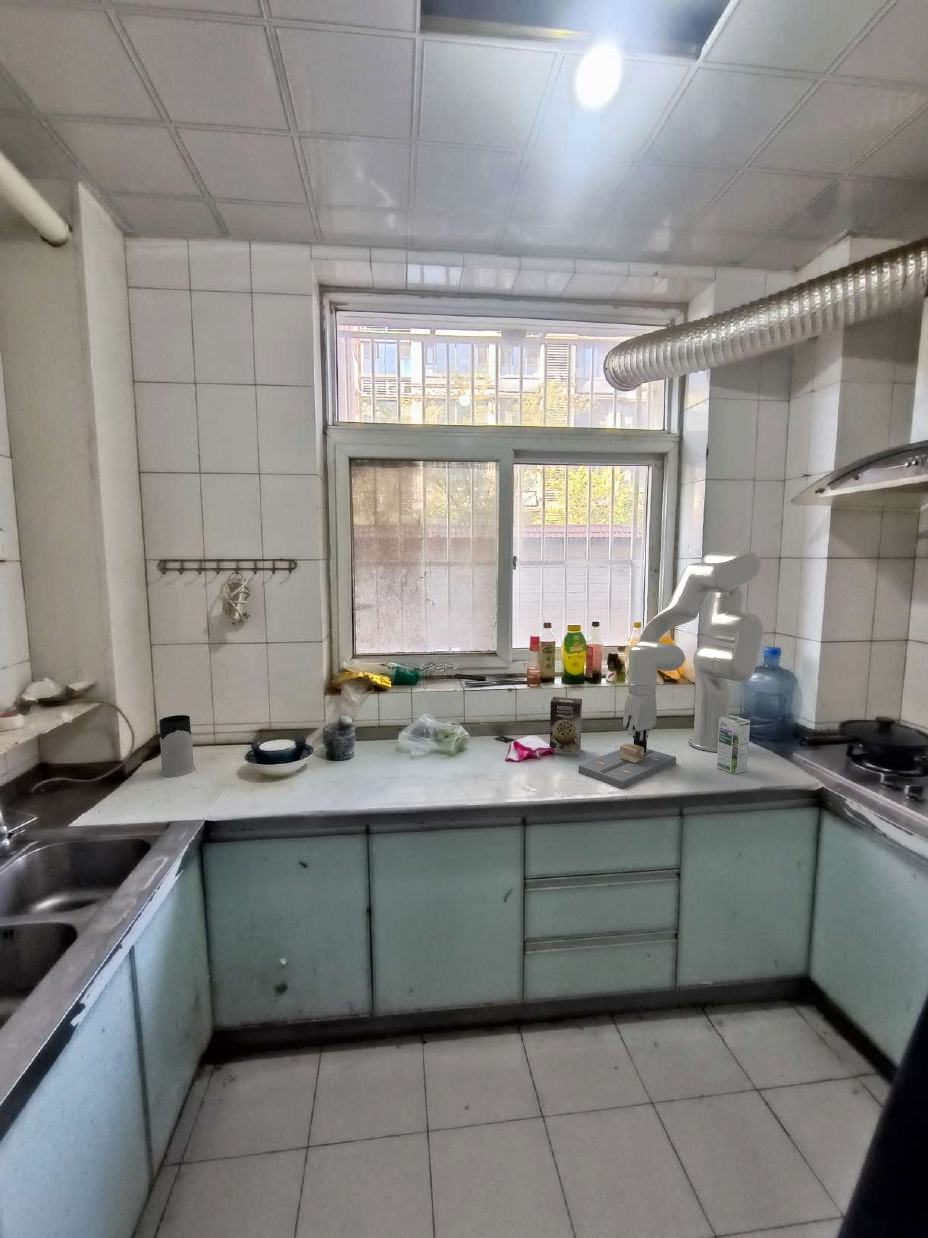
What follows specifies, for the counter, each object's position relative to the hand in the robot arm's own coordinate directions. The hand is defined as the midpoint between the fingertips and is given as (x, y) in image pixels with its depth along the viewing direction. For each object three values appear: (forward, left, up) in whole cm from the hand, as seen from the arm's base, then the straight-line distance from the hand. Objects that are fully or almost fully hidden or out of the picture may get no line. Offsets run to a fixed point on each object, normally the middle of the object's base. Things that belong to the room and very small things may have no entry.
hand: (639, 752), depth 153 cm
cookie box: (+9, -20, -4) cm, 22 cm away
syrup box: (-15, +19, -4) cm, 25 cm away
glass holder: (+103, -83, -4) cm, 132 cm away
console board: (+6, 0, -3) cm, 7 cm away
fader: (+4, 0, -1) cm, 4 cm away
